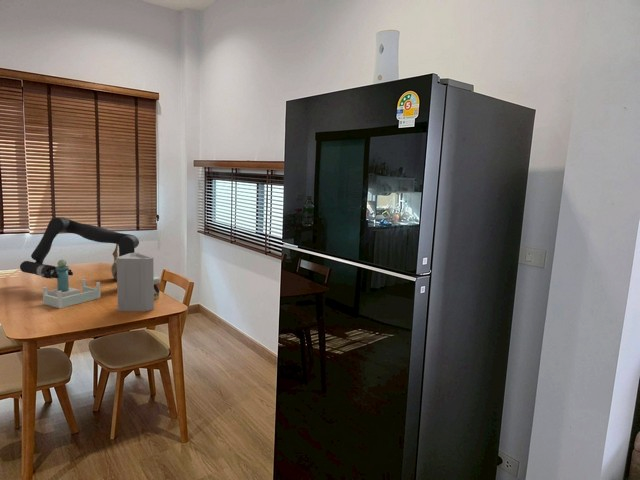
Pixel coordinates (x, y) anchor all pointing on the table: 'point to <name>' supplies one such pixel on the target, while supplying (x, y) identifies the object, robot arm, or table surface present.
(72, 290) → the stone tile
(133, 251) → the robot arm
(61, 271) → the teal peg with ball
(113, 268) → the ceramic vessel
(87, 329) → the table surface
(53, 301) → the rectangular frame with posts
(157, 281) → the coffee cup
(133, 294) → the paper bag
